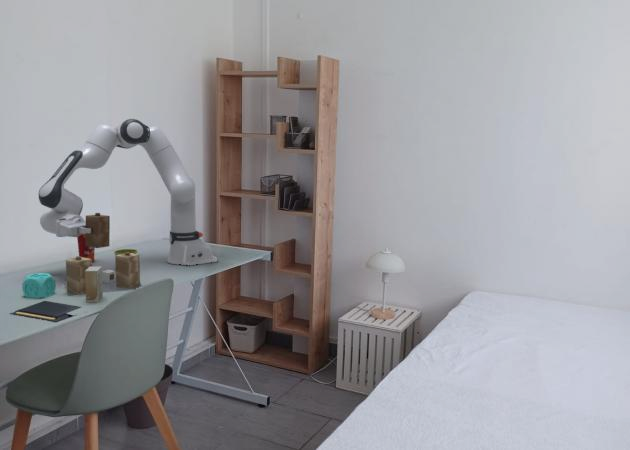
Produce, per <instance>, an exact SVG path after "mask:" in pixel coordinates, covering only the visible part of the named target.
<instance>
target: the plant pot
mask: <svg viewBox="0 0 630 450" xmlns="http://www.w3.org/2000/svg"><path fill="white" fill-rule="evenodd" d="M125 252H130V253H133V254H138V250H137V249H135V248H134V249H132V248H124V249H117V250H115V251H114V252H113V253H114V254H115V255H119V254H123V253H125ZM115 255H114V256H115Z"/></svg>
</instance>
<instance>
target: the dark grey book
mask: <svg viewBox="0 0 630 450" xmlns="http://www.w3.org/2000/svg"><path fill="white" fill-rule="evenodd" d="M81 308H82V306H78V305H72V304H68V303H67V304H66V303H59V302H55V301H48V300H43V301H39V302H37V303H34V304H31V305H29V306H28V305H27V306H26V307H23V308H19V309H17V310H15V311H13V312H10V313H9V315H12V314H13V316H17V315H18V317H23V316H24V317H23V318H29V319H34V318H35V320H40V319H41V320H40V321H45V320H46V321H47V322H51V323H59V322H61V321H65V320H67V319H70V318H71V317H74V316H76V314H69V313H70V312H73V311H75V310H78V309H81ZM46 321H45V322H46Z"/></svg>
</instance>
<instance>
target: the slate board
mask: <svg viewBox="0 0 630 450" xmlns="http://www.w3.org/2000/svg"><path fill="white" fill-rule="evenodd" d="M62 283H63V285H64V289H65V292H66V294H67V297H72V296H73V297H74V296H82V295H86V293H83V294H80V295H79V294H74V293H70V292H67V281H63V282H62ZM141 286H143V284H142V283H141V282H140V285H138V286H135V287H132V288H129V289H127V288H123V287H118V286H116V281H114V282H110V283H105V282H102V291H103V293H112V292H122V291H123V292H124V291H132V290H137V289H136V288H139V287H141Z"/></svg>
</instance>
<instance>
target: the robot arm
mask: <svg viewBox="0 0 630 450" xmlns="http://www.w3.org/2000/svg"><path fill="white" fill-rule="evenodd" d="M136 146H141V147H142V149H144V150H145V151H146V153H147V155H148V157H149V159H150V160H151V162H152V164H153V165H154V168H155V169H156V171H157V172H158V174H159V176H160V178H161V180H162V181H163V184H164V185H165V187H166V189H167V191H168V193H169V195H170V231H169V244H170V245H169V252H168V253H169V254H168V258H167V263H169V264H172V265H179V264H181V266H186V265H188V266H189V265H190V266H196V264H198V265H203V264H210V263H211V262H212V263H217V262H218V257H216V256H215V255H214V254H213V249H212V248H211V246H210V245H209V244H207V243H206V241H203V240H202V239H201V238H203V236H204V234H203V232H201V231H198V230H196V229H197V228H196V227H197V226H196V225H197V224H196V222H197V221H196V184H195V181H194V180H193V178H191V177H190V175H189V173H188V172H187V170H186V168H185V165H183V162H182V160H181V158H180V157H179V155H178V154H177V153H178V152H177V151H176V150H175V148H174V146H173V144H172V143H171V142H170V139H168V137H167V136H166V134H165V133H164V132H163V130H162V129H161V128H160V127H159V126H155V125H153V126H148V125H146V124H144V123H143V122H142V121H140V120H138V119H135V118H129V119H128V118H127V119H126V120H124V121H123V122H120V123H119V124H118V125H117V126H116V127H112V126H111V125H108V124H104V123H103V124H99V125H97V126H96V127H95V129H93V131H92V132H91V133H90V134H89V135H88V138H87V139H86V141H85V143H84V144H83V146H82V147H81V148H80V149H78V150H74V151H72V152H71V153H70V154H69V155H68V156H67V157H66V158H65V160H64V161H63V162H62V163H61V165H60V166H59V167H58V168H57V170H56V171H55V172H54V173H53V175H52V176H51V177H50V179H48V180H47V181H46V182H45V183H44V184H43V185H42V186H41V187H40V189H39V190H38V200H39V204H41V205H42V206H43V207H46V208H48V209H50V210H48V211H47V212H44V213H43V214H41V216H40V218H39V224H40V226H41V228H42V229H43V230H44V231H45V232H47V233H50V234H54V235H55V236H56V237H57V238H63V237H64V238H65V237H69V238H77V237H79V236H80V235H81V234H85V233H93V229H92V228H86V220H85V219H84V217H83V216H81V214H82V211H83V206H84V202H83V199H82V198H81V197H80V196H78V195H77V194H75V193H73V192H72V191H70V190H68V189H66V188H65V185H66V183H67V182H68V180H69V179H70V178H71V176H72V175H73V174H74V172H75V171H76V170H79V169H82V168H83V169H88V170H89V169H90V170H97V169H102V167H104V166H105V165H106V164H107V163H108V161H109V159H110V157H111V155H112V153H113V151H114V149H116V148H121V149H125V150H126V149H128V150H129V149H132V148H135V147H136ZM212 263H211V264H212ZM190 266H189V267H190Z"/></svg>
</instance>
